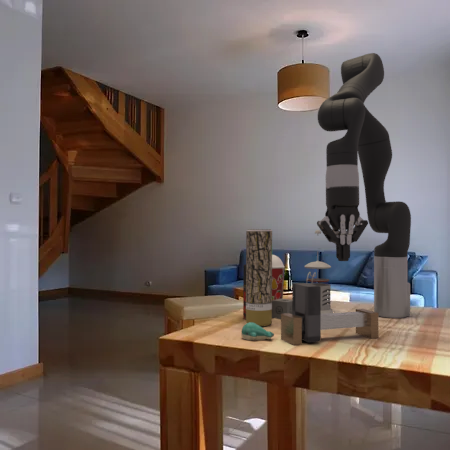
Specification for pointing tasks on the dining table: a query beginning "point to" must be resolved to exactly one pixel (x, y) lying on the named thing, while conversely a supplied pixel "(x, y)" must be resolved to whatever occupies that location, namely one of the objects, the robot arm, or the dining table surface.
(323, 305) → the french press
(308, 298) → the collar
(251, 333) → the whale figurine
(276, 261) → the smoothie
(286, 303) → the grey cube
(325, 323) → the grey bar with endplates
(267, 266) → the paper tube
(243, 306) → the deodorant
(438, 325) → the dining table surface
